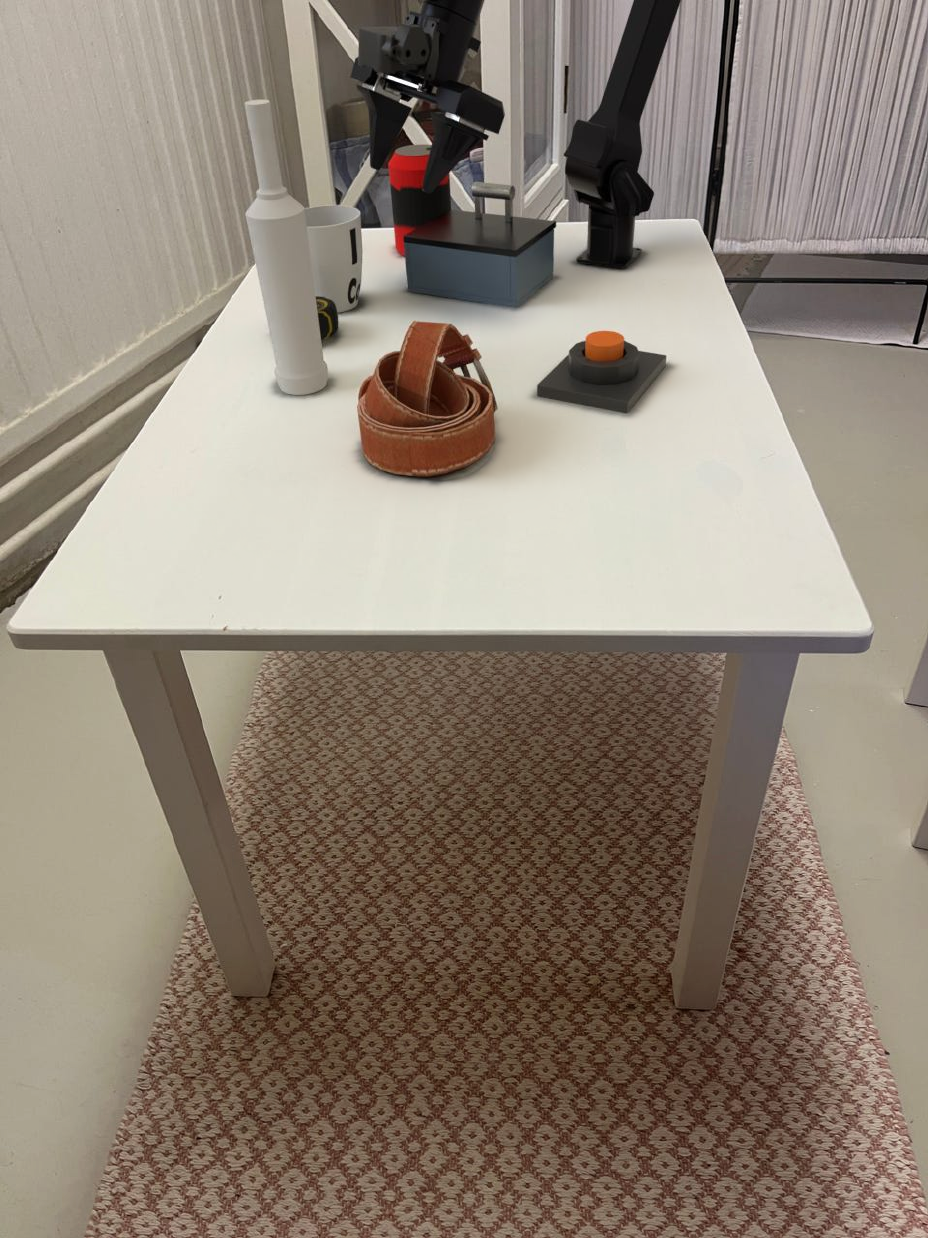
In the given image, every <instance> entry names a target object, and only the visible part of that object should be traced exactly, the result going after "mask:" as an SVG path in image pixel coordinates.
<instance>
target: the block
mask: <svg viewBox="0 0 928 1238" xmlns="http://www.w3.org/2000/svg"><path fill="white" fill-rule="evenodd" d="M585 342H586V339H585V340H582V341H579V342H576V343H574V345H573V346H572V347H571V348H570V349H569V350H568V354H567V355H566V356H565V357H564V358H563V359H562V360H561V361H560V362H559V363H558V364H557V365H556V366H555V367H554V368H553V369H552V370H551V371H550V372H549V373H548V374H547V375H546V376H545V377H544V378H543V379H542V380H541V381H540V382H539V383H538V384H537V385H536V396H537V397H539V398H543V399H550V400H555V401H560V402H566V403H570V404H576V405H581V406H587V407H592V408H596V409H601V410H608V411H612V412H617V413H623V414H628V413H629V412H630V410H631V409H632V408H633V406H635V404H636V403H637V402H638V401H639V399H640V398H641V397H642V395H643V394H644V393H645V392H646V390H648V388H649V387H650V386H651V385H652V383H653V382H654V381H655V380H656V378H657V377H658V376H659V375H660V373H661V372H662V371H663V370H664V368H666V364H667V363H666V362H667V354H661V353H654V352H650V351H643V350H639V349H638V347H637V345H634V344H632V343H630V342H629V341H626V340H624V350H623V357H622V358H621V359H618V360H615V361H604V362H600V361H595V360H590V359H588V358H587V357H585Z"/></svg>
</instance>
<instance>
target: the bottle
mask: <svg viewBox="0 0 928 1238" xmlns="http://www.w3.org/2000/svg"><path fill="white" fill-rule="evenodd" d="M244 109H245V114H246V120H247V127H248V129H249V133H250V140H251V144H252V150H253V151H252V152H253V157H254V163H255V168H256V169H255V170H256V174H257V180H258V186H259V187H258V189H257V190H256V192H255V193H256V194H255V195H256V198H255V199H254V201H253V202H252V203H251V205H250V206H249V207H248V209H247V210H246V212H245V219H246V225H247V228H248V234H249V238H250V243H251V248H252V253H253V258H254V264H255V268H256V273H257V277H258V283H259V287H260V292H261V297H262V302H263V307H264V312H265V316H266V323H267V327H268V332H269V336H270V341H271V346H272V350H273V355H274V361H275V365H276V366H275V369H274V376H275V380H276V382H277V385H278V387H279V389H280V390H281V392H283V393H285V394H288V395H291V396H292V395H293V396H305V395H310V394H314V393H317V392H319V391H322V390H323V389H324V388H326V386H327V383H328V379H329V368H328V364H327V362H326V361H325V360H324V351H323V345H322V341H321V336H320V328H319V320H318V312H317V304H316V297H315V289H314V281H313V273H312V265H311V257H310V249H309V241H308V233H307V225H306V217H305V206H303V205H302V204H301V203H300V202H299V201H298V200H296V199H295V198H294V197H292V196H291V195H290V194H289V193H288V188H286V187H285V186H284V185H283V181H282V175H281V169H280V161H279V156H278V150H277V145H276V138H275V137H276V136H275V131H274V121H273V115H272V109H271V101H270V100H268V99H253V100H252V99H251V100H247V101H245V102H244Z"/></svg>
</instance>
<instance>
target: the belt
mask: <svg viewBox="0 0 928 1238" xmlns="http://www.w3.org/2000/svg"><path fill="white" fill-rule="evenodd" d="M473 344H474V342H473V340H472V338H471V337H470V336H469V334H468V333H466V334H463V335H462V333H461V331H460V330H459V329H458V328H457V327H456V326H455V325H454V324H452V323H445V322H432V321H431V322H430V321H417V320H413V322H411V323H410V325H409V327H408V328H407V330H406V333H405V335H404V337H403V340H402V344H401V346H400V350H395V351H391V352H388V353H385V354H384V355H383V356H382V357H381V358H379V360H378V362H377V364H376V366H375V369H374V371H373V374H372V375H369V376H368V377H367V378H366V379H364V381H363V382H362V384H361V385H360V387H359V392H358V396H357V397H358V398H357V399H358V403H357V406H356V408H357V418H358V426H359V433H360V441H361V449H362V453H363V457H364V458H365V460H367V462H368V463H369V464H370V465H372V466H373V467H375V468H377V469H379V470H381V471H383V472H387V473H391V474H394V475H402V476H409V477H423V478H424V477H426V478H429V477H434V476H439V475H444V474H449V473H451V472H454V471H457V470H461V469H463V468H466V467H468V466H470V465H472V464H474V463H477V462H478V461H480V460H481V459H482V458H483V457H484V456H486V455H487V454H488V453H489V452H490V450H491V449H492V446H493V445H494V443H495V440H496V439H495V437H496V427H495V413H496V412H497V411H498V409H499V408H498V404H497V400H496V397H495V394H494V390H493V387H492V385H491V381H490V379H489V377H488V376H487V374H486V371H485V368H484V367H483V365H482V363H481V359H482V357H483V356H482V355H481V353H480V351H479V350H478V348H477V347H476V348H472V347H471V346H472V345H473ZM441 358H443V359H444V360H443V361H442V362H441V361H440V360H438V359H441ZM470 364H473V367H474V368H475V370H476V374H477V376H478V378H479V380H477V379H476V378H473V377H472V376H471V374H470V371H469V369H468V365H470ZM456 369H460V370H461V372H462V374H463V375H460V374H457V373H456V372H455V371H454V370H456Z"/></svg>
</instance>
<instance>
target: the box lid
mask: <svg viewBox="0 0 928 1238" xmlns="http://www.w3.org/2000/svg"><path fill="white" fill-rule="evenodd" d="M470 193H471V196H472V197H474V211H468V210H460V209H452V208H451V209H449V210H447V211H445V212H443V213H442V214H440V215H438V216H437V217H435V218H433V219H432V220H430V221H428V222H426V223H425V224H423V225H421V226H420V227H418V228H416V229H415V230H413V231H411V232H410V233H408V234H406V235H404V236H403V239H404V242H406V243H414V244H422V245H430V246H437V247H445V248H453V249H461V250H468V251H476V252H484V253H491V254H499V255H507V256H515V257H516V256H518V255H519V254H520V253H522V252H523V251H524V250H526V249H527V248H528V247H530V246H531V245H533V244H534V243H535V242H537V241H538V240H539V239H541V238H542V237H543V236H545V235H546V234H548V233H549V232H550V231H552V230H553V229H554V230H555V229H557V220H551V219H541V218H532V217H523V216H514V210H513V209H514V204H513V203H514V201H513V200H514V199H515V197H516V187H515V185H512V184H505V183H504V184H502V183H494V182H493V183H492V182H481V181H474V182H472V184H471V190H470ZM483 198H484V199H494V200H503V201H504V214H495V213H487V212H483Z"/></svg>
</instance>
